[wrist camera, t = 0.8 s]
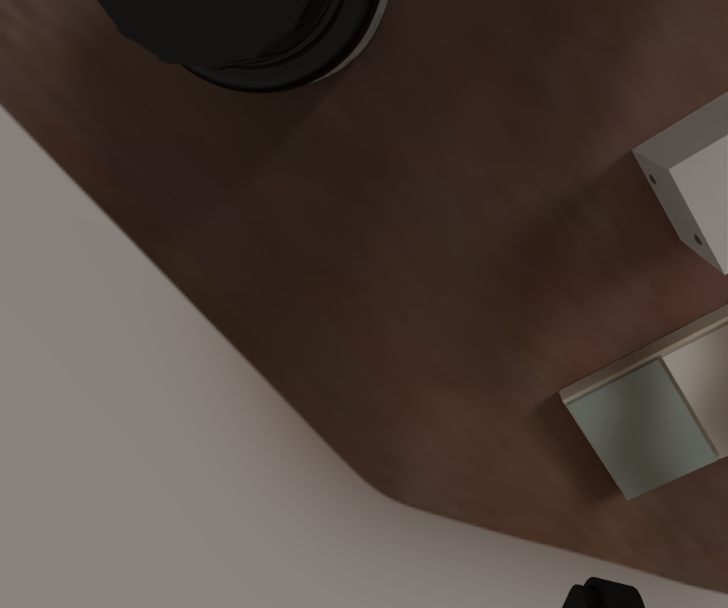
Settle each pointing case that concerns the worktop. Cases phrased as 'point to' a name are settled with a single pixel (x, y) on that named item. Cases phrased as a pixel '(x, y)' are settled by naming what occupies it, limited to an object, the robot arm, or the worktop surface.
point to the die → (693, 178)
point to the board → (659, 406)
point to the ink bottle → (251, 37)
